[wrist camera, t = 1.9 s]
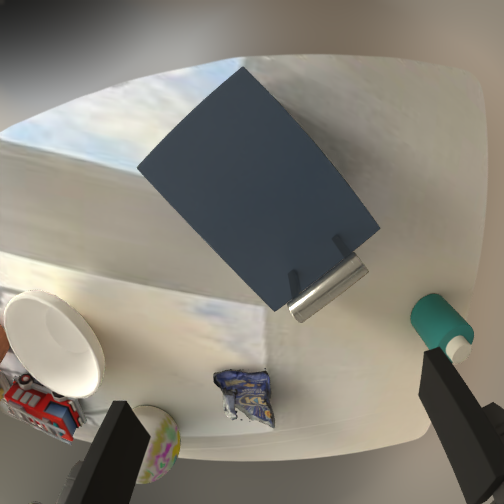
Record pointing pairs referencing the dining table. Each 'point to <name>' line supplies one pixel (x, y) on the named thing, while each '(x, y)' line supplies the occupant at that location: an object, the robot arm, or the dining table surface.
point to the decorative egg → (158, 443)
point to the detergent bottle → (442, 327)
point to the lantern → (3, 385)
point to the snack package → (246, 394)
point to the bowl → (54, 343)
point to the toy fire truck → (44, 408)
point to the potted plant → (3, 343)
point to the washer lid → (263, 197)
